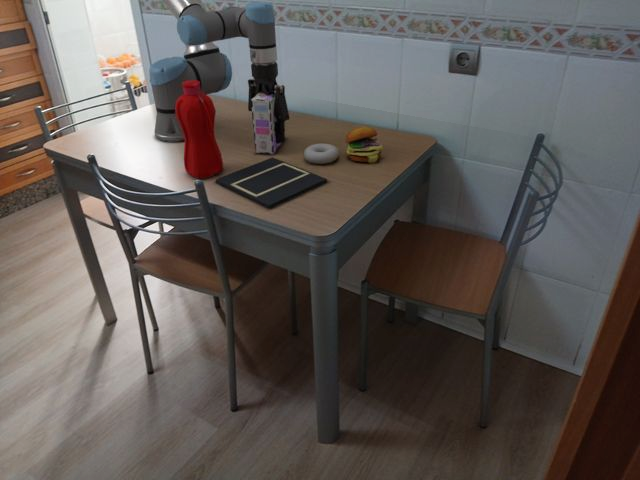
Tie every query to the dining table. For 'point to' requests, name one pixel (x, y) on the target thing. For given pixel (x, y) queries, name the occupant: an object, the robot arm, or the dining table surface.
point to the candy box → (264, 123)
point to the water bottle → (198, 131)
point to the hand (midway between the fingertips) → (270, 138)
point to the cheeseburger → (363, 145)
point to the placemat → (271, 182)
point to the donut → (321, 153)
